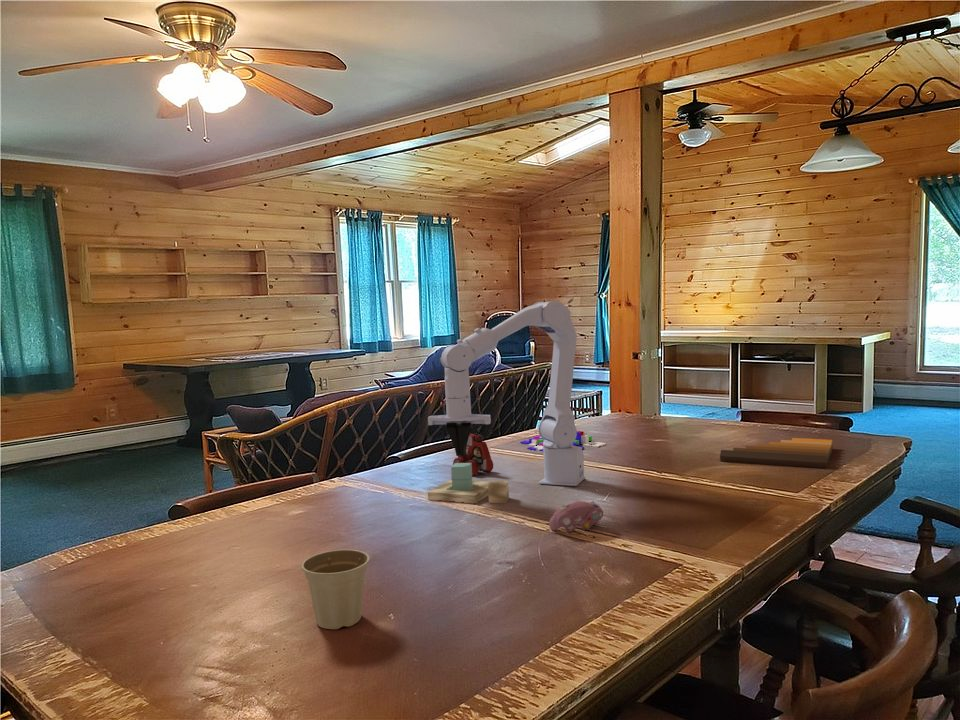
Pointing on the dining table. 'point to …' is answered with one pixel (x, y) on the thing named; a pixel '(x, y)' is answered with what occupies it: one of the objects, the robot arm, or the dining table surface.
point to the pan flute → (783, 453)
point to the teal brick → (462, 476)
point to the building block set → (580, 439)
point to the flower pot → (336, 586)
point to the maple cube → (498, 492)
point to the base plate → (459, 492)
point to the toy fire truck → (476, 455)
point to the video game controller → (576, 516)
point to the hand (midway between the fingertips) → (461, 455)
